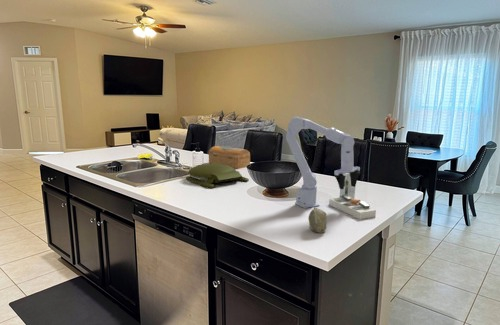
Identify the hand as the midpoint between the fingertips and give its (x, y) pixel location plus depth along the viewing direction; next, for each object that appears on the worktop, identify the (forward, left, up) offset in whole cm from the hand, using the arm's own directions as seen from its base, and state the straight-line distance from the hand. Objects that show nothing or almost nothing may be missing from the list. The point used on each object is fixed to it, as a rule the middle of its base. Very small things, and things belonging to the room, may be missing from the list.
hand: (347, 187), depth 167 cm
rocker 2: (+1, -11, -5) cm, 12 cm away
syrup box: (+9, +10, -10) cm, 16 cm away
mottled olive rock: (-30, -19, -10) cm, 37 cm away
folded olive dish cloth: (-42, +77, -10) cm, 88 cm away
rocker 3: (+1, +1, -5) cm, 5 cm away
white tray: (-1, -5, -10) cm, 11 cm away
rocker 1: (+1, -5, -5) cm, 8 cm away
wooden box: (-16, +117, -10) cm, 119 cm away
